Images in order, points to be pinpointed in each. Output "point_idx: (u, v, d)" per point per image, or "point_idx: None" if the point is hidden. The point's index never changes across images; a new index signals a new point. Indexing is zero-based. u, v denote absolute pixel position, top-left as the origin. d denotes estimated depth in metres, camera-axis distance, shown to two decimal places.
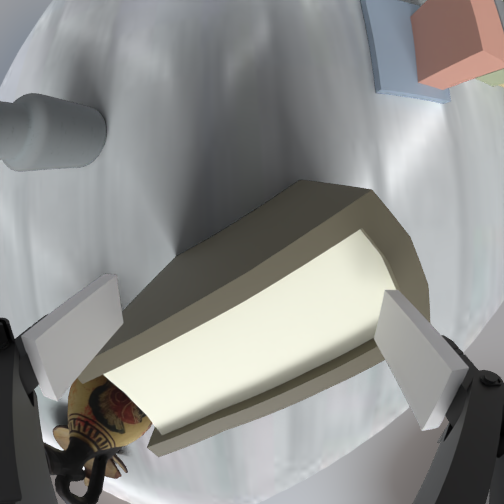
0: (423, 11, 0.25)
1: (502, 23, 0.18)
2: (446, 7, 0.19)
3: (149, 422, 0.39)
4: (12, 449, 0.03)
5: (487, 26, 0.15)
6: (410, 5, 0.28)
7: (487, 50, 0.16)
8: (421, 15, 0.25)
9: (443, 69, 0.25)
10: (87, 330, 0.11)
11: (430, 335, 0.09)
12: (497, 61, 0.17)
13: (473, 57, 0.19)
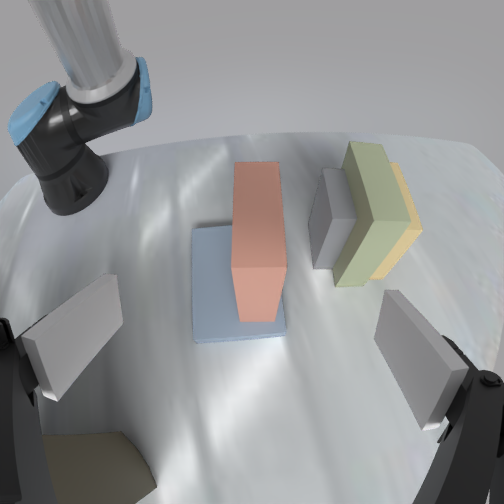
0: None
1: (330, 201, 0.34)
2: None
3: None
4: (12, 449, 0.03)
5: (251, 227, 0.26)
6: None
7: (239, 264, 0.24)
8: None
9: (237, 303, 0.32)
10: (86, 330, 0.11)
11: (430, 335, 0.09)
12: (265, 270, 0.25)
13: (238, 280, 0.26)
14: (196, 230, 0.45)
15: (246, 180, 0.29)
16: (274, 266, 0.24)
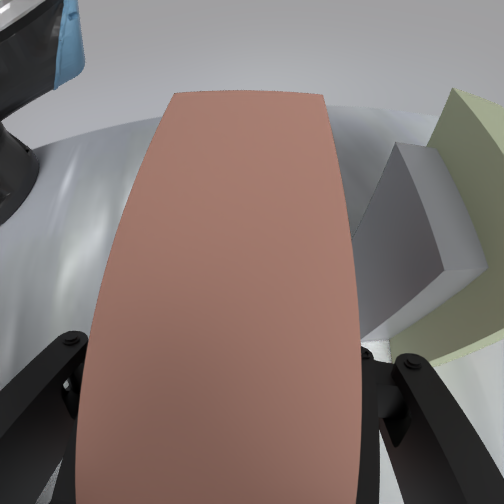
0: None
1: (430, 222, 0.12)
2: None
3: None
4: None
5: (173, 402, 0.04)
6: None
7: None
8: None
9: None
10: None
11: None
12: None
13: None
14: None
15: (197, 142, 0.07)
16: None
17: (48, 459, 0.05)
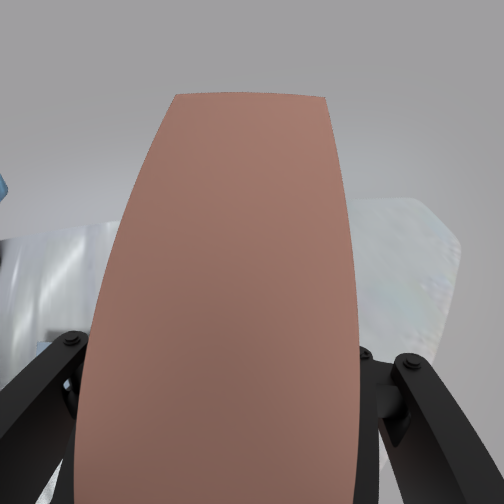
0: None
1: None
2: None
3: None
4: None
5: (171, 406, 0.04)
6: None
7: None
8: None
9: None
10: None
11: None
12: None
13: None
14: (39, 343, 0.38)
15: (198, 145, 0.07)
16: None
17: (49, 460, 0.05)
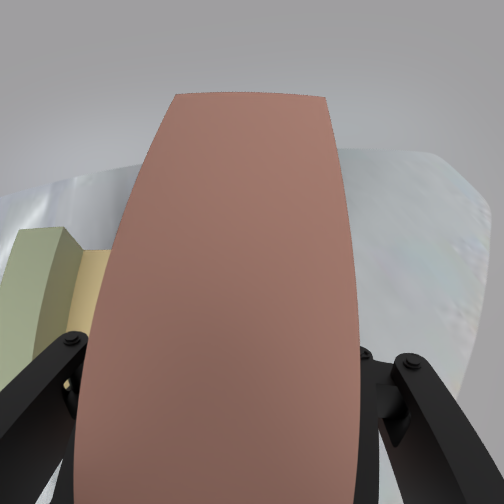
0: None
1: None
2: None
3: None
4: None
5: (171, 407, 0.04)
6: None
7: None
8: None
9: None
10: None
11: None
12: None
13: None
14: None
15: (198, 144, 0.07)
16: None
17: (49, 460, 0.05)
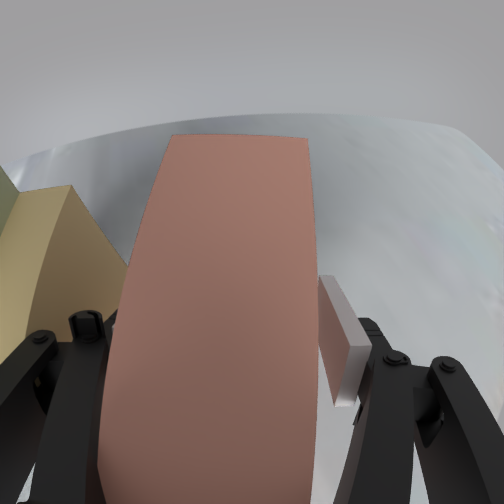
0: None
1: None
2: None
3: None
4: (84, 454, 0.04)
5: (174, 411, 0.05)
6: None
7: None
8: None
9: None
10: None
11: (343, 314, 0.11)
12: None
13: None
14: None
15: (193, 191, 0.08)
16: None
17: (26, 455, 0.05)
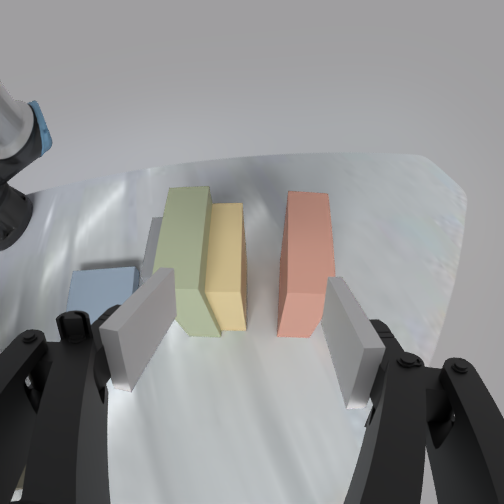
0: None
1: None
2: (284, 245, 0.35)
3: None
4: (74, 453, 0.04)
5: (305, 255, 0.28)
6: (111, 271, 0.43)
7: (294, 289, 0.27)
8: (281, 258, 0.42)
9: (281, 321, 0.34)
10: (153, 321, 0.12)
11: (355, 316, 0.10)
12: (316, 296, 0.27)
13: (290, 302, 0.29)
14: (75, 273, 0.43)
15: (299, 209, 0.31)
16: (325, 293, 0.26)
17: (19, 454, 0.05)
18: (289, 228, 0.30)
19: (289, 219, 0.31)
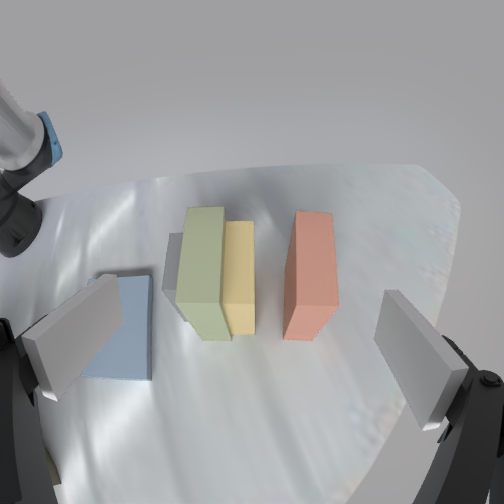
0: (287, 263, 0.45)
1: (165, 271, 0.36)
2: (291, 258, 0.39)
3: None
4: (12, 449, 0.03)
5: (311, 271, 0.32)
6: (126, 279, 0.47)
7: (302, 302, 0.30)
8: None
9: (288, 327, 0.38)
10: (86, 330, 0.11)
11: (430, 335, 0.09)
12: (321, 307, 0.31)
13: (298, 312, 0.32)
14: (90, 281, 0.47)
15: (306, 228, 0.35)
16: (329, 305, 0.30)
17: None
18: (297, 246, 0.34)
19: (297, 238, 0.34)
